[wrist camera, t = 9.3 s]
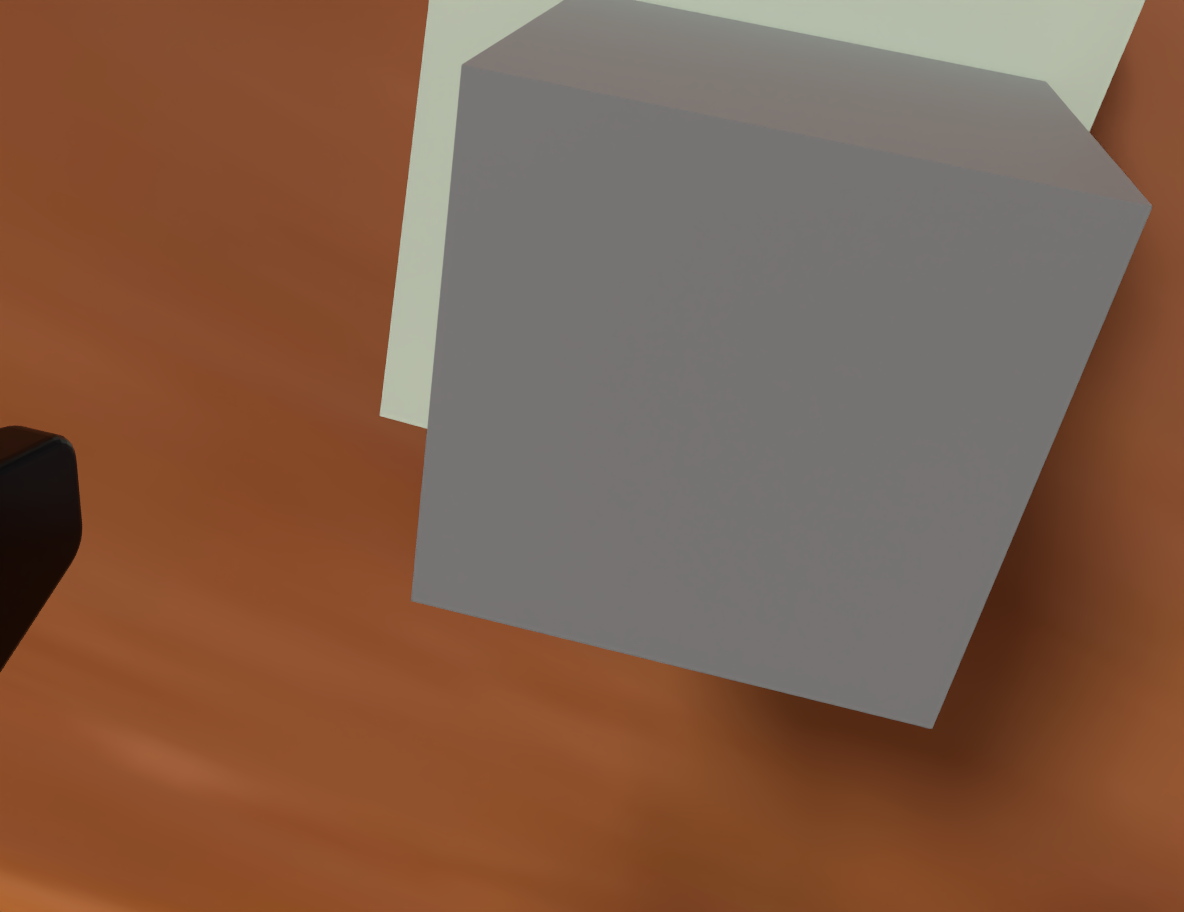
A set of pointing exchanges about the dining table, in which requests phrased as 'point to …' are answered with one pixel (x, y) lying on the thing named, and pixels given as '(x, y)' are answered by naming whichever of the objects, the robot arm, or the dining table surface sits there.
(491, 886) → the dining table surface
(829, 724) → the dining table surface
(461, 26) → the tower top block
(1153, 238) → the dining table surface
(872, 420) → the gray block
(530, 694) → the dining table surface
